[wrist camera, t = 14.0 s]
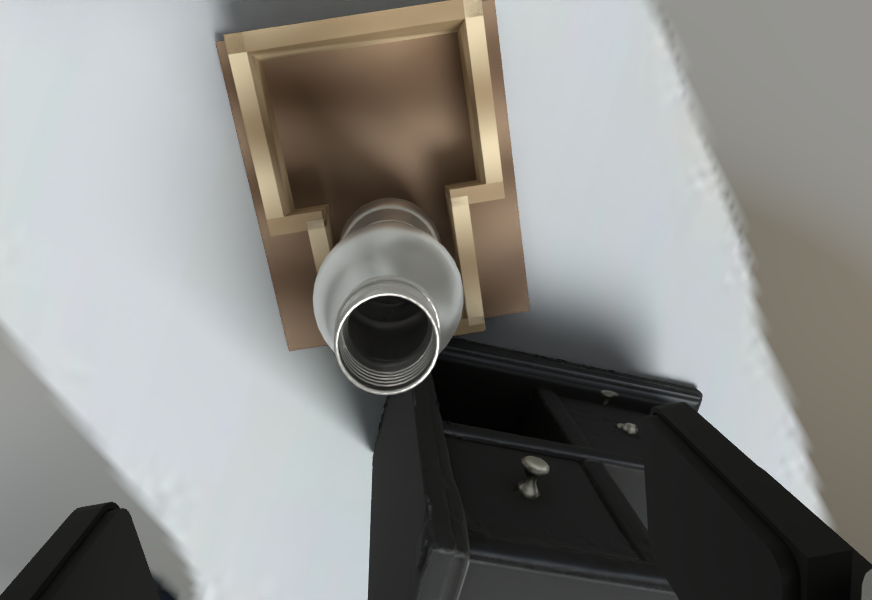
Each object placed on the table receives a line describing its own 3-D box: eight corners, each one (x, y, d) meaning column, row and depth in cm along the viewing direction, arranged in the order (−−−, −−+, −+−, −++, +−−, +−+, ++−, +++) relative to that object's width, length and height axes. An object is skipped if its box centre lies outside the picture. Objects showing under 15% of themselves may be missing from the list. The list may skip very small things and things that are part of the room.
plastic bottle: (331, 281, 39) (271, 416, 19) (353, 182, 37) (311, 222, 18) (424, 303, 40) (453, 453, 20) (449, 206, 38) (507, 271, 19)
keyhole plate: (220, 44, 35) (192, 28, 31) (491, 3, 36) (507, -19, 31) (291, 346, 41) (277, 373, 36) (526, 306, 41) (544, 328, 36)
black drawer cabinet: (699, 387, 44) (1023, 642, 21) (653, 507, 47) (897, 849, 24) (403, 323, 41) (415, 542, 18) (370, 455, 44) (346, 791, 21)
